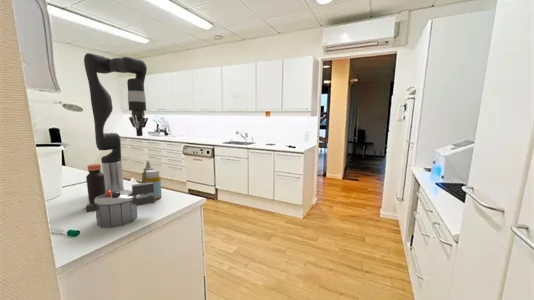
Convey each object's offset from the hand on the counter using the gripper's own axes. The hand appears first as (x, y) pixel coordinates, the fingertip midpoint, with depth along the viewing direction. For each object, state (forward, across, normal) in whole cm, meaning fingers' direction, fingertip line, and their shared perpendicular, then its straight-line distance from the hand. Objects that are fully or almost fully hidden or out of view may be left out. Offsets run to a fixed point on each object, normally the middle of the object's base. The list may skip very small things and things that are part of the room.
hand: (139, 136), depth 115 cm
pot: (+33, +15, -18) cm, 41 cm away
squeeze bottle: (+33, -6, +7) cm, 34 cm away
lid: (+24, +15, -17) cm, 33 cm away
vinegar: (+33, -10, -17) cm, 39 cm away
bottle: (+33, +4, +3) cm, 34 cm away
